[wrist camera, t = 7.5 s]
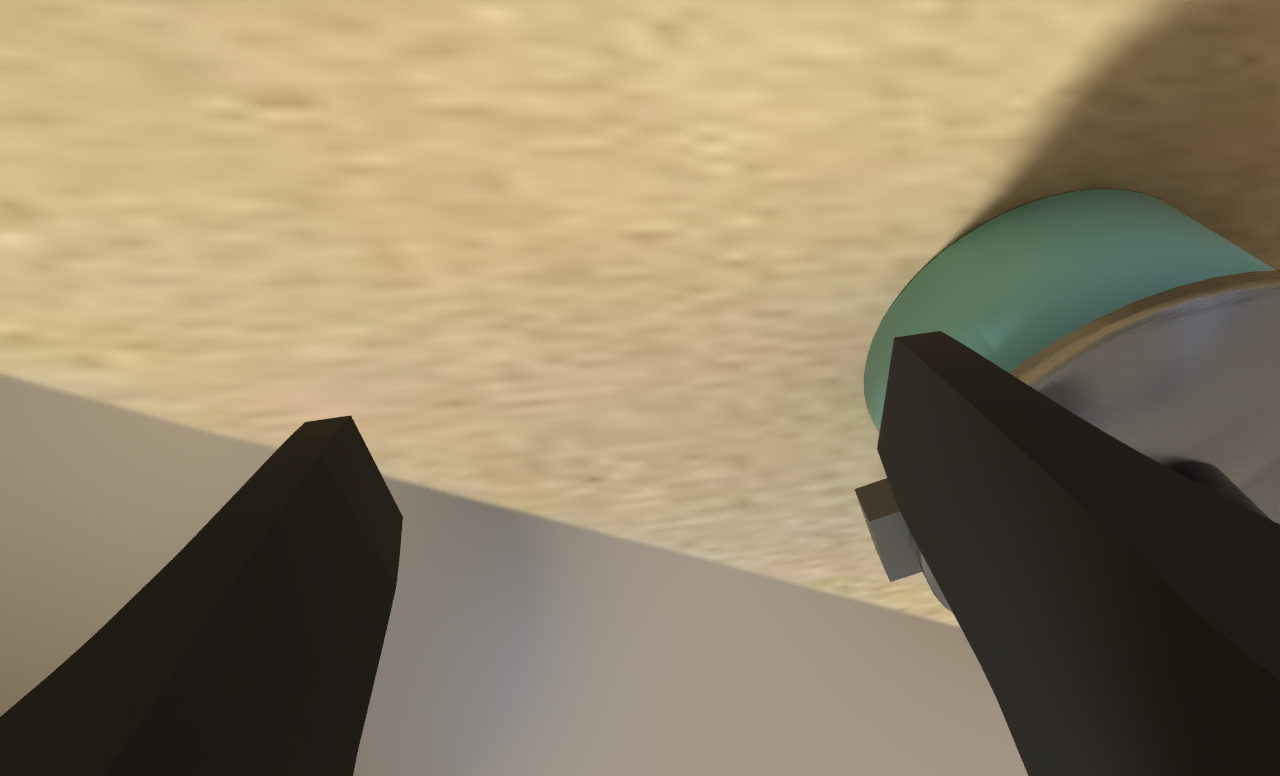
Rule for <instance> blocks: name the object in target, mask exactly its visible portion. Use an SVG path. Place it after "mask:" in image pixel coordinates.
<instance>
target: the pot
mask: <svg viewBox="0 0 1280 776" xmlns="http://www.w3.org/2000/svg"><path fill="white" fill-rule="evenodd" d="M1272 270H1276V269H1274V268H1272V267H1271V266H1269V265H1267V264H1266V263H1264V262H1262V261H1261V260H1259V259H1258V258H1256V257H1254V256H1253V255H1251V254H1249V253H1248V252H1246V251H1245V250H1243V249H1241V248H1240V247H1238V246H1236V245H1235V244H1233V243H1232V242H1230V241H1228V240H1227V239H1225V238H1223V237H1222V236H1220V235H1219V234H1217V233H1215V232H1214V231H1212V230H1210V229H1209V228H1207V227H1205V226H1204V225H1202V224H1201V223H1199V222H1197V221H1196V220H1194V219H1192V218H1191V217H1189V216H1188V215H1186V214H1184V213H1183V212H1181V211H1179V210H1178V209H1176V208H1175V207H1173V206H1171V205H1169V204H1167V203H1166V202H1164V201H1162V200H1160V199H1158V198H1155V197H1152V196H1149V195H1146V194H1143V193H1140V192H1134V191H1127V190H1120V189H1090V190H1082V191H1074V192H1067V193H1063V194H1059V195H1055V196H1051V197H1047V198H1043V199H1040V200H1037V201H1034V202H1031V203H1028V204H1026V205H1023V206H1020V207H1017V208H1015V209H1013V210H1011V211H1008V212H1006V213H1004V214H1002V215H1000V216H998V217H996V218H993V219H991V220H990V221H988V222H986V223H984V224H983V225H981V226H979V227H978V228H976V229H974V230H972V231H971V232H969V233H967V234H966V235H965V236H963V237H962V238H960V239H959V240H958V241H956V242H955V243H953V244H952V245H951V246H949V247H948V248H946V249H945V250H944V251H943V252H941V253H940V254H939V255H938V256H937V257H936V258H935V259H933V260H932V261H931V262H930V263H929V264H928V265H926V266H925V267H924V268H923V269H922V270H921V271H920V272H919V273H918V275H917V276H916V277H915V278H914V279H913V280H912V281H911V282H910V283H909V284H908V285H907V286H906V287H905V289H904V290H903V291H902V293H901V294H900V295H899V296H898V298H897V299H896V300H895V302H894V303H893V304H892V306H891V307H890V309H889V311H888V312H887V314H886V315H885V317H884V319H883V320H882V322H881V324H880V326H879V328H878V330H877V332H876V335H875V337H874V339H873V341H872V344H871V347H870V350H869V354H868V357H867V361H866V367H865V374H864V394H865V399H866V404H867V408H868V410H869V413H870V415H871V418H872V420H873V422H874V424H875V426H876V428H877V430H878V432H879V433H880V427H881V420H882V414H883V407H884V401H885V394H886V388H887V381H888V374H889V368H890V361H891V355H892V348H893V342H894V337H901V336H908V335H915V334H921V333H928V332H935V331H942V332H943V333H945V334H947V335H949V336H950V337H952V338H954V339H956V340H957V341H959V342H961V343H962V344H964V345H966V346H967V347H969V348H970V349H972V350H974V351H975V352H977V353H978V354H980V355H981V356H983V357H985V358H986V359H988V360H989V361H991V362H993V363H994V364H996V365H997V366H999V367H1000V368H1002V369H1004V370H1005V371H1007V372H1008V373H1011V372H1012V371H1013V370H1015V369H1016V368H1017V367H1019V366H1020V365H1021V364H1022V363H1024V362H1025V361H1026V360H1028V359H1029V358H1031V357H1032V356H1034V355H1035V354H1037V353H1039V352H1040V351H1042V350H1043V349H1045V348H1046V347H1048V346H1049V345H1051V344H1052V343H1054V342H1056V341H1057V340H1059V339H1060V338H1062V337H1064V336H1066V335H1067V334H1069V333H1071V332H1073V331H1075V330H1077V329H1079V328H1080V327H1082V326H1084V325H1086V324H1088V323H1090V322H1091V321H1093V320H1095V319H1097V318H1099V317H1101V316H1104V315H1106V314H1108V313H1110V312H1113V311H1115V310H1117V309H1119V308H1122V307H1124V306H1126V305H1128V304H1131V303H1133V302H1135V301H1138V300H1141V299H1144V298H1146V297H1149V296H1152V295H1155V294H1158V293H1161V292H1164V291H1166V290H1169V289H1172V288H1175V287H1179V286H1183V285H1186V284H1190V283H1194V282H1198V281H1202V280H1206V279H1210V278H1214V277H1219V276H1226V275H1232V274H1239V273H1245V272H1252V271H1272ZM855 492H856V495H857V498H858V500H859V503H860V506H861V509H862V512H863V514H864V517H865V520H866V523H867V526H868V528H869V531H870V534H871V537H872V540H873V542H874V545H875V548H876V551H877V553H878V555H879V557H880V560H881V562H882V564H883V567H884V569H885V571H886V573H887V576H888V578H889V580H890V582H891V581H895V580H898V579H901V578H904V577H907V576H910V575H914V574H917V573H920V572H922V570H921V568H920V566H919V564H918V562H917V560H916V557H915V555H914V553H913V551H912V548H911V543H910V539H909V535H908V526H907V524H906V522H905V520H904V518H903V516H902V514H901V512H900V510H899V507H898V504H897V502H896V499H895V497H894V494H893V491H892V489H891V486H890V484H889V481H888V478H886V479H883V480H880V481H877V482H874V483H871V484H868V485H866V486H863V487H860V488H857V489H855Z"/></svg>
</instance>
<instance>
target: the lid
mask: <svg viewBox="0 0 1280 776" xmlns="http://www.w3.org/2000/svg"><path fill="white" fill-rule="evenodd" d="M1010 374H1011V375H1013V376H1015V377H1016V378H1018V379H1019V380H1021V381H1022V382H1024V383H1026V384H1027V385H1029V386H1030V387H1032V388H1033V389H1035V390H1037V391H1038V392H1040V393H1041V394H1043V395H1045V396H1046V397H1048V398H1049V399H1051V400H1053V401H1054V402H1056V403H1057V404H1059V405H1061V406H1062V407H1064V408H1066V409H1067V410H1069V411H1071V412H1072V413H1074V414H1075V415H1077V416H1079V417H1080V418H1082V419H1084V420H1085V421H1087V422H1089V423H1090V424H1092V425H1094V426H1095V427H1097V428H1099V429H1100V430H1102V431H1104V432H1106V433H1107V434H1109V435H1111V436H1112V437H1114V438H1116V439H1118V440H1119V441H1121V442H1123V443H1124V444H1126V445H1128V446H1130V447H1131V448H1133V449H1135V450H1137V451H1139V452H1140V453H1142V454H1144V455H1146V456H1148V457H1149V458H1151V459H1153V460H1155V461H1157V462H1159V463H1160V464H1162V465H1164V466H1166V467H1168V468H1170V469H1171V470H1173V471H1175V472H1177V473H1179V474H1180V475H1182V476H1184V477H1186V478H1188V479H1190V480H1191V481H1193V482H1195V483H1197V484H1199V485H1201V486H1203V487H1205V488H1207V489H1209V490H1211V491H1213V492H1215V493H1217V494H1218V495H1220V496H1222V497H1224V498H1226V499H1228V500H1230V501H1232V502H1234V503H1236V504H1238V505H1240V506H1243V507H1245V508H1247V509H1249V510H1251V511H1253V512H1255V513H1257V514H1259V515H1261V516H1264V517H1266V518H1268V519H1270V520H1272V521H1274V522H1276V523H1278V524H1280V270H1272V271H1252V272H1245V273H1239V274H1232V275H1226V276H1219V277H1214V278H1210V279H1206V280H1202V281H1198V282H1194V283H1190V284H1186V285H1183V286H1179V287H1175V288H1172V289H1169V290H1166V291H1164V292H1161V293H1158V294H1155V295H1152V296H1149V297H1146V298H1144V299H1141V300H1138V301H1135V302H1133V303H1131V304H1128V305H1126V306H1124V307H1122V308H1119V309H1117V310H1115V311H1113V312H1110V313H1108V314H1106V315H1104V316H1101V317H1099V318H1097V319H1095V320H1093V321H1091V322H1090V323H1088V324H1086V325H1084V326H1082V327H1080V328H1079V329H1077V330H1075V331H1073V332H1071V333H1069V334H1067V335H1066V336H1064V337H1062V338H1060V339H1059V340H1057V341H1056V342H1054V343H1052V344H1051V345H1049V346H1048V347H1046V348H1045V349H1043V350H1042V351H1040V352H1039V353H1037V354H1035V355H1034V356H1032V357H1031V358H1029V359H1028V360H1026V361H1025V362H1024V363H1022V364H1021V365H1020V366H1019V367H1017V368H1016V369H1015V370H1013V371H1012V372H1011V373H1010ZM908 535H909V539H910V543H911V548H912V551H913V553H914V555H915V557H916V560H917V562H918V564H919V566H920V568H921V570H922V572H923V574H924V576H925V578H926V580H927V582H928V584H929V586H930V588H931V590H932V592H933V594H934V595H935V596H936V598H937V599H938V600H939V601H940V602H941V603H942V604H943V606H944V607H946V608H947V609H948V610H950V611H951V612H952V610H951V608H950V606H949V604H948V602H947V600H946V599H945V597H944V595H943V593H942V591H941V589H940V587H939V585H938V584H937V582H936V580H935V578H934V576H933V574H932V572H931V570H930V568H929V567H928V565H927V563H926V561H925V559H924V557H923V555H922V553H921V551H920V549H919V547H918V546H917V544H916V542H915V540H914V538H913V536H912V534H911V532H910V530H909V528H908ZM952 613H953V612H952Z"/></svg>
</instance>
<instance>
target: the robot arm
mask: <svg viewBox="0 0 1280 776" xmlns="http://www.w3.org/2000/svg"><path fill="white" fill-rule="evenodd" d="M877 450H878V452H879V455H880V458H881V461H882V464H883V467H884V469H885V472H886V475H887V478H888V481H889V484H890V486H891V489H892V491H893V494H894V497H895V499H896V502H897V504H898V507H899V510H900V512H901V514H902V516H903V518H904V520H905V522H906V524H907V526H908V528H909V530H910V532H911V534H912V536H913V538H914V540H915V542H916V544H917V546H918V547H919V549H920V551H921V553H922V555H923V557H924V559H925V561H926V563H927V565H928V567H929V568H930V570H931V572H932V574H933V576H934V578H935V580H936V582H937V584H938V585H939V587H940V589H941V591H942V593H943V595H944V597H945V599H946V600H947V602H948V604H949V606H950V608H951V610H952V612H953V614H954V615H955V617H956V619H957V621H958V623H959V625H960V627H961V629H962V630H963V632H964V634H965V636H966V638H967V640H968V642H969V644H970V646H971V647H972V649H973V651H974V653H975V655H976V657H977V659H978V661H979V663H980V664H981V666H982V669H983V671H984V673H985V675H986V677H987V679H988V681H989V683H990V685H991V687H992V689H993V692H994V694H995V696H996V698H997V700H998V703H999V705H1000V708H1001V710H1002V712H1003V715H1004V717H1005V720H1006V722H1007V724H1008V727H1009V729H1010V732H1011V734H1012V737H1013V739H1014V742H1015V744H1016V746H1017V749H1018V751H1019V754H1020V756H1021V759H1022V761H1023V763H1024V766H1025V768H1026V770H1027V773H1028V775H1029V776H1280V524H1278V523H1276V522H1274V521H1272V520H1270V519H1268V518H1266V517H1264V516H1261V515H1259V514H1257V513H1255V512H1253V511H1251V510H1249V509H1247V508H1245V507H1243V506H1240V505H1238V504H1236V503H1234V502H1232V501H1230V500H1228V499H1226V498H1224V497H1222V496H1220V495H1218V494H1217V493H1215V492H1213V491H1211V490H1209V489H1207V488H1205V487H1203V486H1201V485H1199V484H1197V483H1195V482H1193V481H1191V480H1190V479H1188V478H1186V477H1184V476H1182V475H1180V474H1179V473H1177V472H1175V471H1173V470H1171V469H1170V468H1168V467H1166V466H1164V465H1162V464H1160V463H1159V462H1157V461H1155V460H1153V459H1151V458H1149V457H1148V456H1146V455H1144V454H1142V453H1140V452H1139V451H1137V450H1135V449H1133V448H1131V447H1130V446H1128V445H1126V444H1124V443H1123V442H1121V441H1119V440H1118V439H1116V438H1114V437H1112V436H1111V435H1109V434H1107V433H1106V432H1104V431H1102V430H1100V429H1099V428H1097V427H1095V426H1094V425H1092V424H1090V423H1089V422H1087V421H1085V420H1084V419H1082V418H1080V417H1079V416H1077V415H1075V414H1074V413H1072V412H1071V411H1069V410H1067V409H1066V408H1064V407H1062V406H1061V405H1059V404H1057V403H1056V402H1054V401H1053V400H1051V399H1049V398H1048V397H1046V396H1045V395H1043V394H1041V393H1040V392H1038V391H1037V390H1035V389H1033V388H1032V387H1030V386H1029V385H1027V384H1026V383H1024V382H1022V381H1021V380H1019V379H1018V378H1016V377H1015V376H1013V375H1011V374H1010V373H1008V372H1007V371H1005V370H1004V369H1002V368H1000V367H999V366H997V365H996V364H994V363H993V362H991V361H989V360H988V359H986V358H985V357H983V356H981V355H980V354H978V353H977V352H975V351H974V350H972V349H970V348H969V347H967V346H966V345H964V344H962V343H961V342H959V341H957V340H956V339H954V338H952V337H950V336H949V335H947V334H945V333H943V332H942V331H935V332H928V333H921V334H915V335H908V336H901V337H894V342H893V348H892V355H891V361H890V368H889V374H888V381H887V388H886V394H885V401H884V407H883V414H882V420H881V427H880V433H879V440H878V447H877ZM402 520H403V516H402V514H401V512H400V511H399V509H398V507H397V505H396V503H395V501H394V499H393V497H392V495H391V493H390V491H389V490H388V487H387V485H386V483H385V481H384V479H383V477H382V475H381V473H380V471H379V470H378V468H377V466H376V464H375V462H374V460H373V458H372V456H371V454H370V452H369V450H368V448H367V446H366V444H365V442H364V440H363V438H362V436H361V434H360V432H359V431H358V429H357V427H356V425H355V423H354V421H353V419H352V417H351V416H345V417H338V418H331V419H324V420H317V421H310V422H305V423H304V424H303V425H302V426H301V427H300V428H299V429H298V430H296V431H295V432H294V433H293V434H292V435H291V436H290V437H289V438H288V439H287V440H286V441H285V442H284V443H283V444H282V445H281V446H280V447H279V448H278V449H277V450H276V452H275V453H274V454H273V455H272V456H271V457H270V458H269V459H268V460H267V461H266V462H265V463H264V464H263V465H262V466H261V467H260V468H259V470H257V472H256V473H255V474H254V475H253V476H252V477H251V478H250V479H249V480H248V481H247V482H246V483H245V484H244V486H242V487H241V489H240V490H239V491H238V492H237V493H236V494H235V495H234V496H233V497H232V498H231V499H230V500H229V501H228V502H227V504H225V505H224V506H223V508H222V509H221V510H220V511H219V512H218V513H217V514H216V515H215V516H214V517H213V518H212V519H211V520H210V521H209V522H208V523H207V524H206V525H205V526H204V527H203V528H202V529H201V531H199V533H198V534H197V535H196V536H195V537H194V538H193V539H192V540H191V541H190V542H189V543H188V544H187V545H186V546H185V547H184V548H183V549H182V550H181V551H180V552H179V553H178V554H177V555H176V556H175V557H174V558H173V559H172V560H171V561H170V562H169V563H168V564H167V565H166V566H165V567H164V568H163V569H162V570H161V571H160V572H159V573H158V574H157V575H156V576H155V577H154V578H153V579H152V580H151V581H150V582H149V583H148V584H146V585H145V587H143V588H142V589H141V590H140V591H139V592H138V593H137V594H136V595H135V596H134V597H133V598H132V599H131V600H130V601H129V602H128V603H127V604H126V605H125V606H124V607H123V608H122V609H121V610H120V611H119V612H118V613H117V614H116V615H115V616H114V617H113V618H112V619H111V620H109V622H108V623H106V624H105V625H104V626H103V627H102V629H100V630H99V631H98V632H97V633H96V634H95V635H94V636H93V637H92V638H90V639H89V640H88V641H87V642H86V643H85V644H84V645H83V646H82V647H81V648H80V649H78V650H77V651H76V652H75V653H74V654H73V655H72V656H71V657H69V658H68V659H67V660H66V661H65V662H64V663H63V664H62V665H60V666H59V667H58V668H57V669H56V670H55V671H54V672H53V673H51V674H50V675H49V676H48V677H47V678H46V679H44V680H43V681H42V682H41V683H40V684H38V686H36V687H35V688H34V689H33V690H31V691H30V692H29V693H28V694H27V695H26V696H24V697H23V698H22V699H21V700H20V701H19V702H17V703H16V704H15V705H14V706H13V707H11V708H10V709H9V710H8V711H7V712H6V713H4V714H3V715H2V716H1V717H0V776H353V773H354V767H355V762H356V757H357V752H358V747H359V744H360V739H361V735H362V731H363V727H364V723H365V718H366V714H367V710H368V706H369V702H370V697H371V693H372V689H373V685H374V680H375V676H376V672H377V668H378V664H379V659H380V655H381V651H382V647H383V643H384V638H385V634H386V630H387V625H388V620H389V616H390V612H391V608H392V603H393V599H394V594H395V589H396V582H397V575H398V566H399V556H400V545H401V531H402Z"/></svg>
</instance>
